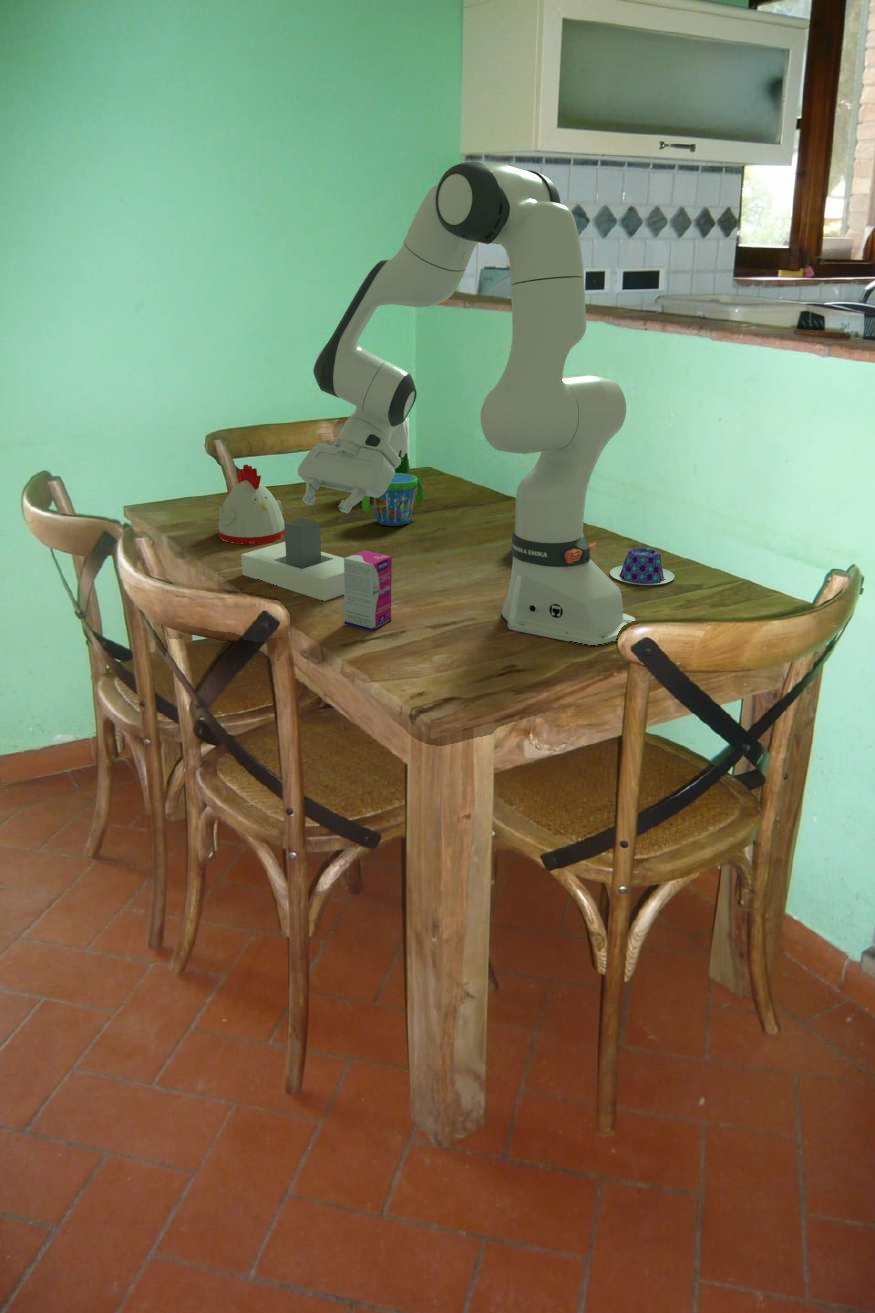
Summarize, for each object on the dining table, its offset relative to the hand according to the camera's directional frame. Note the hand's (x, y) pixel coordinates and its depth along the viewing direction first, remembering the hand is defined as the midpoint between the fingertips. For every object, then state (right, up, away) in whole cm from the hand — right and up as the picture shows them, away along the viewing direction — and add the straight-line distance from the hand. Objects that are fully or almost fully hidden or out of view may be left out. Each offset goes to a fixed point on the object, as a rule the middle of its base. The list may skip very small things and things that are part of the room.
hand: (324, 506), depth 182 cm
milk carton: (+9, +13, +63) cm, 65 cm away
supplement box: (+9, -22, -18) cm, 30 cm away
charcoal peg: (-4, -13, +1) cm, 14 cm away
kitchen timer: (-18, -2, +28) cm, 34 cm away
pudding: (+59, -13, +5) cm, 61 cm away
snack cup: (+11, +2, +38) cm, 39 cm away
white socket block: (-4, -13, +1) cm, 14 cm away
